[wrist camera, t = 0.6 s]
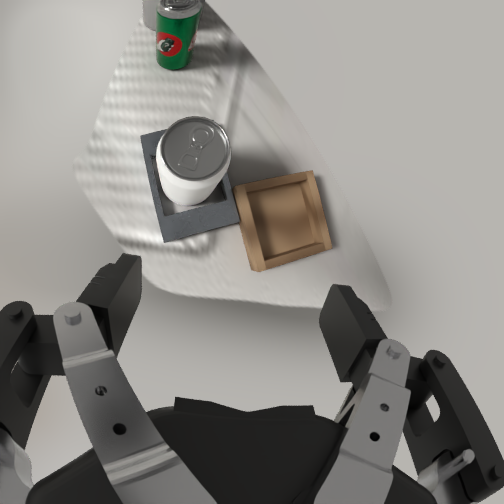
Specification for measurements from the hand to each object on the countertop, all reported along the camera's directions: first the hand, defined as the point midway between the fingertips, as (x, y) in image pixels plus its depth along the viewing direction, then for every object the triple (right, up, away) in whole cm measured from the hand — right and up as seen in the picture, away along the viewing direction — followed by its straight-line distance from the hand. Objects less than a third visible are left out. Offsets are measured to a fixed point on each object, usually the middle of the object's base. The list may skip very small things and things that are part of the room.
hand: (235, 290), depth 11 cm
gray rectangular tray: (-7, +10, +21) cm, 24 cm away
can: (-7, +10, +21) cm, 24 cm away
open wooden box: (+4, +6, +24) cm, 25 cm away
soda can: (-10, +28, +20) cm, 36 cm away
